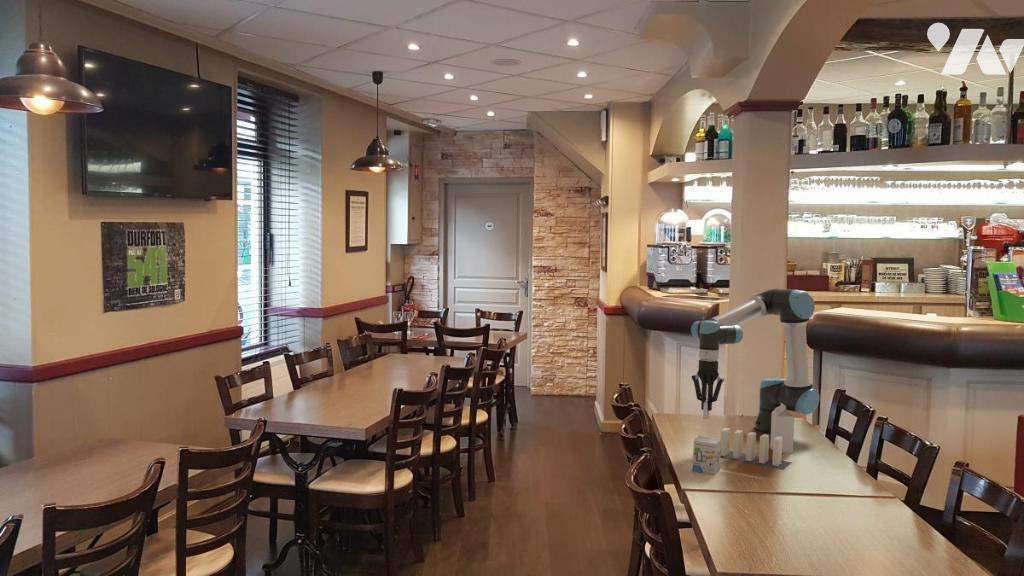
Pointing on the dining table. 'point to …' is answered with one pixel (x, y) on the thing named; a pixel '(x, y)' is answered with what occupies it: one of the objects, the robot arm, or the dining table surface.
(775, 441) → the domino
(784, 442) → the milk carton
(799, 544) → the dining table surface
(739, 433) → the domino
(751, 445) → the domino
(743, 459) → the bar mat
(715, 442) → the ink box
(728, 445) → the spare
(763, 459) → the domino
